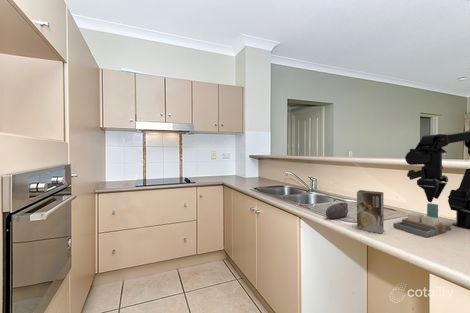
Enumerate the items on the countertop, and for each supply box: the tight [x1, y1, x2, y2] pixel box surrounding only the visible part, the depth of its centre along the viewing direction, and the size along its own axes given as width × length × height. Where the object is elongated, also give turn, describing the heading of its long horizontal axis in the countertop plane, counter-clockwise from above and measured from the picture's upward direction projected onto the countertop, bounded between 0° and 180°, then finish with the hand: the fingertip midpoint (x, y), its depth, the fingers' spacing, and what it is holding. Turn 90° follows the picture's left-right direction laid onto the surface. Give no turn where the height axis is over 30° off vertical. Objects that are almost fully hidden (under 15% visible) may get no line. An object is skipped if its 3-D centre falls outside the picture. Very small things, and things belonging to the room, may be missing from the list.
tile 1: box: [407, 212, 425, 222], centre depth 95 cm, size 4×4×2 cm
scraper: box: [426, 202, 452, 232], centre depth 95 cm, size 3×11×10 cm, turn 24°
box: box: [392, 220, 436, 239], centre depth 90 cm, size 6×12×2 cm, turn 24°
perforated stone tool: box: [325, 202, 349, 220], centre depth 109 cm, size 15×5×7 cm, turn 115°
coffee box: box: [356, 189, 385, 234], centre depth 92 cm, size 9×6×16 cm
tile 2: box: [422, 215, 440, 226], centre depth 90 cm, size 4×4×2 cm
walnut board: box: [401, 217, 448, 236], centre depth 93 cm, size 8×12×3 cm, turn 24°
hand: (433, 200), depth 93 cm, fingers open, 9 cm apart
